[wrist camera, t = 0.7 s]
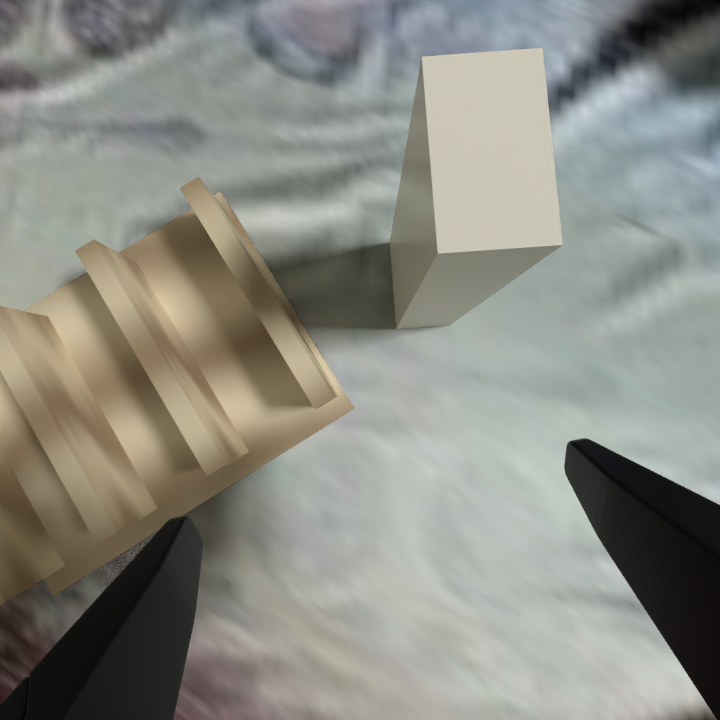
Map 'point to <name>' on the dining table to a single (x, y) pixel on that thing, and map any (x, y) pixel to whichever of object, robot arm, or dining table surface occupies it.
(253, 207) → the dining table surface
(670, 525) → the robot arm
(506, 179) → the cream rectangular block
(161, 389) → the ridged tan cradle
